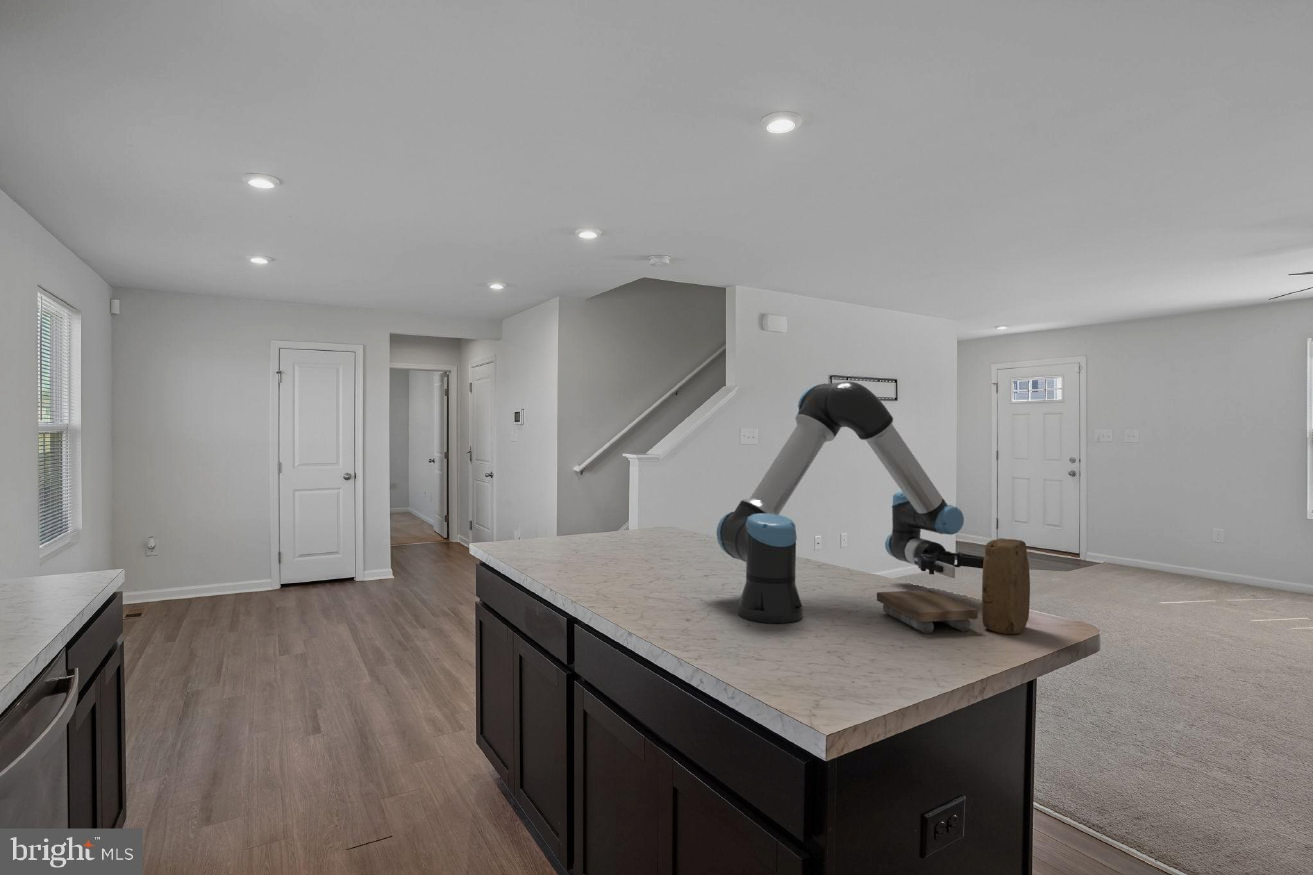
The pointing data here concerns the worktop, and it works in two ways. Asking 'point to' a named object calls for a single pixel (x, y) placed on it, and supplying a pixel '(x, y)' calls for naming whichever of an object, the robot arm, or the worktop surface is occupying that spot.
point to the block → (1005, 586)
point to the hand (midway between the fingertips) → (979, 571)
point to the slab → (926, 609)
